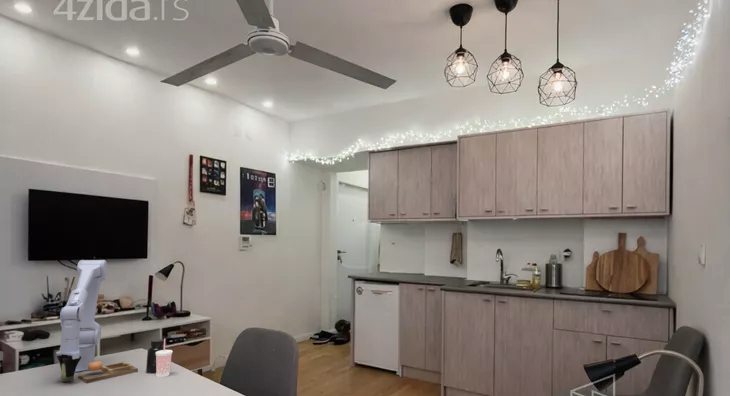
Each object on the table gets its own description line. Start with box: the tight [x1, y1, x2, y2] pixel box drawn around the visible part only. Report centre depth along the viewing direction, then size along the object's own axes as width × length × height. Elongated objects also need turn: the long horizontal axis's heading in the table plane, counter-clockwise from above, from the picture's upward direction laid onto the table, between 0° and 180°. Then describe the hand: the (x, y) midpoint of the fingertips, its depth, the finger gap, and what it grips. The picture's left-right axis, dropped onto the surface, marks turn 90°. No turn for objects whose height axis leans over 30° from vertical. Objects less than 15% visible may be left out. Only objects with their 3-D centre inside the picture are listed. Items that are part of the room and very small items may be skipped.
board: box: [77, 361, 139, 384], centre depth 166 cm, size 9×18×3 cm, turn 142°
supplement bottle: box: [145, 338, 167, 374], centre depth 172 cm, size 7×7×12 cm
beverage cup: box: [155, 338, 174, 378], centre depth 166 cm, size 6×6×14 cm
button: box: [87, 360, 103, 372], centre depth 162 cm, size 4×4×2 cm
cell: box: [60, 363, 75, 382], centre depth 158 cm, size 4×4×7 cm
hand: (67, 375), depth 158 cm, fingers closed on cell, 4 cm apart
